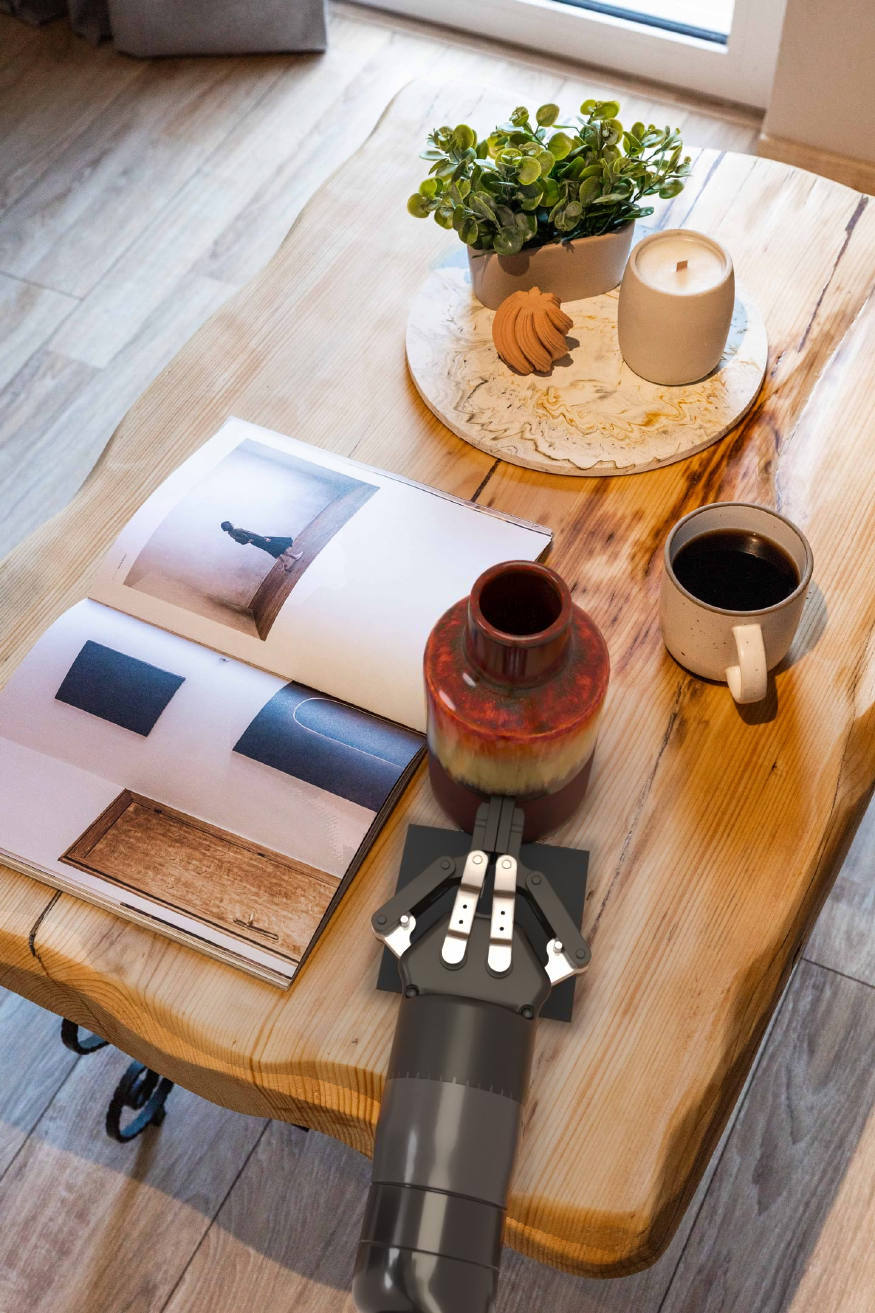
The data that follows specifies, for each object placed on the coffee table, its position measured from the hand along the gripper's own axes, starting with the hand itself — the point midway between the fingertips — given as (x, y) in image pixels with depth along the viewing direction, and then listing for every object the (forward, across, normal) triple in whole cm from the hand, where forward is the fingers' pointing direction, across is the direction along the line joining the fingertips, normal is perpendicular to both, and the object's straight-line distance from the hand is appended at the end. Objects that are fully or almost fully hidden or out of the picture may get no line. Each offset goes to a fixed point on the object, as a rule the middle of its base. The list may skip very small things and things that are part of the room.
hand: (502, 801), depth 67 cm
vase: (+5, 0, +7) cm, 9 cm away
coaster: (-5, 0, +7) cm, 9 cm away
